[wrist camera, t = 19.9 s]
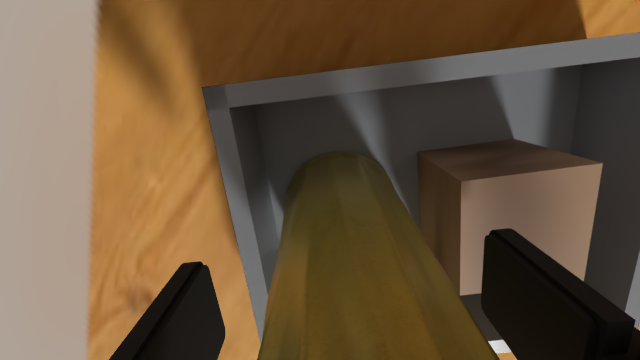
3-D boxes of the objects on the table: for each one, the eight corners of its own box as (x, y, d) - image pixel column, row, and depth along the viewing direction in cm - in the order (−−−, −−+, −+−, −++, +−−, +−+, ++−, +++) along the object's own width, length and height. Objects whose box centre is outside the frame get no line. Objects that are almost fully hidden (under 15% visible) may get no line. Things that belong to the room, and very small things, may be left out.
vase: (270, 166, 16) (-46, 696, 2) (384, 138, 15) (938, 572, 2) (301, 263, 17) (239, 890, 4) (404, 240, 17) (743, 854, 3)
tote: (588, 42, 15) (719, 22, 10) (554, 275, 19) (635, 340, 14) (238, 86, 15) (201, 87, 10) (280, 303, 19) (267, 375, 15)
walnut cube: (514, 138, 15) (602, 163, 11) (508, 225, 17) (583, 281, 12) (417, 151, 15) (461, 181, 11) (420, 236, 17) (459, 295, 12)
